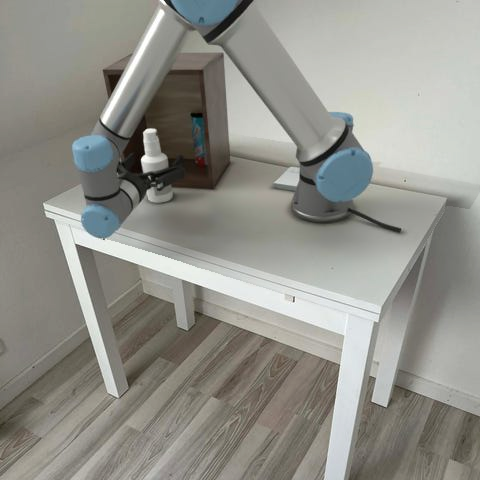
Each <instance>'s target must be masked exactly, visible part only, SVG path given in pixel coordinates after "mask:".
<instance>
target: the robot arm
mask: <svg viewBox="0 0 480 480" xmlns="http://www.w3.org/2000/svg"><path fill="white" fill-rule="evenodd" d="M157 2H158V5H157V7H156V9H155V11H154V13H153V14H152V17H151V18H150V21H149V22H148V24H147V27H146V28H145V29H144V32H143V34H142V36H141V38H140V40H139V42H137V45H136V47H135V49H134V51H133V52H132V53H133V55H132V57H131V59H130V61H129V62H128V64H127V66H126V68H125V70H124V72H123V74H122V76H121V78H120V80H119V82H118V83H117V85H116V87H115V89H114V91H113V93H112V95H111V97H110V99H108V101H107V102H106V105H105V106H104V108H103V111H102V112H101V114H100V117H98V118H99V119H98V120H97V122H96V124H95V125H94V128H92V130H91V131H90V133H89V135H85V136H81V137H79V138H78V139H76V140H74V141H73V143H72V145H71V150H72V154H73V162H74V166H75V167H76V170H77V173H78V179H79V182H80V185H81V189H82V193H83V195H84V196H83V197H84V202H85V205H86V207H84V208H83V211H82V212H81V215H80V223H81V226H82V228H83V229H84V230H85V232H86V233H88V234H89V235H90V236H91V237H94V238H97V239H108V238H111V236H112V235H114V234H115V233H116V232H117V231H118V230H119V229H120V228H121V226H122V225H123V223H124V222H125V221H126V220H127V218H128V217H129V216H130V215H131V214H132V212H133V211H134V210H135V209H136V208H137V207H138V205H139V204H140V203H142V201H143V200H144V199H145V197H146V196H147V190H149V189H151V188H152V187H154V188H157V191H161V190H163V189H164V188H165V187H167V186H169V185H171V184H173V183H175V182H177V181H179V180H181V179H183V178H185V170H184V167H183V166H184V163H183V155H179V157H178V158H177V159H176V160H175V161H174V162H173V164H172V167H169V168H166V169H163V170H160V171H157V172H152V171H150V172H147V173H143V174H142V173H140V174H136V173H134V174H133V173H130V172H129V171H128V170H129V169H130V168H131V167H132V166H133V165H134V164H135V158H134V153H131V154H130V155H129V156H128V157H127V158H126V159H124V160H123V161H121V154H122V152H123V151H124V149H125V147H126V145H127V144H128V142H129V140H130V138H131V136H132V134H133V133H134V131H135V129H136V128H137V126H138V124H139V122H140V121H141V119H142V117H143V115H144V114H145V112H146V110H147V109H148V107H149V105H150V103H151V102H152V100H153V98H154V96H155V95H156V93H157V91H158V90H159V88H160V86H161V84H162V83H163V81H164V79H165V77H166V76H167V74H168V72H169V71H170V69H171V67H172V65H173V64H174V62H175V60H176V59H177V57H178V55H179V53H182V50H183V48H184V46H185V44H186V43H187V42H188V39H189V38H190V36H191V34H192V33H193V32H194V31H196V32H197V33H198V34H199V36H200V37H202V39H203V40H204V41H205V43H206V44H207V45H210V46H218V47H221V49H222V50H223V51H224V53H225V54H226V56H227V57H228V59H230V61H231V62H232V64H233V65H234V66H235V67H236V69H237V70H238V71H239V73H240V74H241V76H242V77H243V78H244V79H245V81H246V82H247V83H248V84H249V86H250V87H251V89H252V90H253V91H254V93H255V94H256V95H257V96H258V98H259V99H260V100H261V101H262V103H263V104H264V106H265V107H266V108H267V109H268V110H269V112H270V113H271V114H272V116H273V117H274V118H275V120H276V121H277V122H278V124H279V125H280V126H281V127H282V129H283V130H284V131H285V133H286V134H287V135H288V137H289V138H290V140H291V141H292V142H293V144H294V145H295V146H296V151H295V159H296V160H297V161H298V163H299V168H300V174H299V182H298V185H297V187H296V190H295V191H294V193H293V196H292V199H291V201H290V210H291V212H292V214H293V215H294V216H295V217H296V218H298V219H300V220H303V221H306V222H310V223H318V224H328V223H334V222H335V223H336V222H340V221H342V220H344V219H346V218H348V217H349V216H350V215H351V214H353V215H356V216H358V217H360V218H361V219H362V218H363V219H364V220H366V221H369V222H370V223H372V224H374V225H376V226H379V227H382V228H385V229H387V230H391V231H395V232H399V233H400V232H402V228H401V227H399V226H394V225H390V224H386V223H385V222H384V223H383V222H382V221H380V220H379V221H378V220H376V219H374V218H372V217H370V216H368V215H366V214H364V213H362V212H360V211H358V210H355V209H354V208H353V207H354V201H353V200H354V199H356V198H357V197H359V196H360V195H362V194H363V193H364V191H366V189H367V188H368V187H369V185H370V183H371V180H372V179H373V175H374V164H373V162H372V157H371V155H370V154H369V153H368V151H366V150H365V149H364V148H363V146H362V144H361V143H360V142H359V140H358V138H357V137H356V136H355V135H354V132H353V131H354V130H353V129H354V126H355V123H354V116H353V115H352V114H350V113H347V112H342V111H328V110H327V107H325V106H326V105H324V104H323V102H322V101H321V99H320V98H319V96H318V95H317V93H316V92H315V90H314V89H313V87H312V86H311V85H310V83H309V82H308V80H307V79H306V77H305V76H304V74H303V72H302V71H301V69H300V68H299V67H298V65H297V64H296V62H295V61H294V60H293V58H292V57H291V55H290V54H289V52H288V51H287V50H286V48H285V46H284V45H283V43H282V42H281V41H280V40H279V38H278V35H276V33H275V32H274V31H273V29H272V27H271V26H270V25H269V23H268V22H267V20H266V18H265V17H264V16H263V14H262V13H261V12H260V10H259V0H157ZM148 176H150V178H151V180H150V178H149V177H148Z"/></svg>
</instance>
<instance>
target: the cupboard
mask: <svg viewBox="0 0 480 480" xmlns="http://www.w3.org/2000/svg"><path fill="white" fill-rule="evenodd" d="M133 53H134V52H131V53H130V54H128V55H126V56H125V57H122V58H121V59H119V60H118V61H115V62H113V63H112V64H110V65H108V66H106V67H104V68H102V69H101V70H102V75H103V78H104V83H105V88H106V92H107V98H108V100H109V99H110V97H111V95H112V93H113V91H114V89H115V87H116V85H117V83H118V82H119V80H120V78H121V76H122V74H123V72H124V70H125V68H126V66H127V64H128V62H129V61H130V59H131V57H132V55H133ZM224 53H225V52H180V53H179V55H178V57H177V59H176V60H175V62H174V64H173V65H172V67H171V69H170V71H169V72H168V74H167V76H166V77H165V79H164V81H163V83H162V84H161V86H160V88H159V90H158V91H157V93H156V95H155V96H154V98H153V100H152V102H151V103H150V105H149V107H148V109H147V110H146V112H145V114H144V115H143V117H142V119H141V121H140V122H139V124H138V126H137V128H136V129H135V131H134V133H133V134H132V136H131V138H130V140H129V142H128V144H127V145H126V147H125V149H124V151H123V152H122V154H121V157H120V162H121V161H123V160H124V159H126V158H127V157H128V156H129V155H130V154H131V153H134V158H135V164H134V165H133V166H132V167H131V168H130V169H129V170H128V171H129V172H130V173H133V174H134V173H136V174H140V173H142V174H143V168H142V163H141V158H142V157H143V156H144V155H146V154H145V146H144V141H143V140H144V135H143V132H144V131H145V130H146V129H156V130H157V136H158V138H159V144H160V148H161V153H163V154H165V155H166V156H167V158H168V165H169V167H172V164H173V162H174V161H175V160H176V159H177V158H178V157H179V155H183V163H184V166H183V167H184V170H185V178H183V179H181V180H179V181H177V182H175V183H173V184H171V186H172V188H179V189H183V188H184V189H199V190H215V188H216V187H217V185H218V183H219V182H220V181H221V178H222V177H223V176H224V174H225V172H226V171H227V169H228V168H229V166H230V165H231V151H230V150H231V149H230V148H231V147H230V135H229V118H228V104H227V103H228V102H227V101H228V100H227V86H226V70H225V56H224V55H225V54H224ZM191 113H203V123H204V134H205V145H206V155H207V165H200V164H197V163H196V161H195V152H194V143H193V134H192V124H191V115H190V114H191Z"/></svg>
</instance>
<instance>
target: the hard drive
mask: <svg viewBox="0 0 480 480" xmlns="http://www.w3.org/2000/svg"><path fill="white" fill-rule="evenodd" d="M299 174H300V167H299V166H298V167H297V166H289V167H288V168H287V169H286V170H285V171H284V172H282V174H281V175H280V176H278V178H277V179H276V180H274V182H273V183H272V185H273V186H272V187H273V189H276V190H284V191H288V192H289V191H291V192H295V190H296V187H297V185H298V182H299Z"/></svg>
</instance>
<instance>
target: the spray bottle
mask: <svg viewBox="0 0 480 480" xmlns="http://www.w3.org/2000/svg"><path fill="white" fill-rule="evenodd" d="M143 135H144V140H143V141H144V146H145V154H146V155H144V156H143V157H142V158H141V163H142V168H143V173H147V172H150V171H152V172H157V171H160V170H163V169H166V168H169V165H168V158H167V156H166V155H165V154H163V153H161V148H160V144H159V138H158V136H157V130H156V129H146V130H145V131H144V132H143ZM148 177H149V178H150V176H148ZM150 180H151V178H150ZM173 195H174V194H173V187H172V186H171V185H169V186H167V187H165V188H164V189H163V190H161V191H157V188H154V187H152V188H151V189H149V190H147V192H146V196H147V199H148V201H149V202H151V203H155V204H161V203H165V202H168V201H170V200H171V199H173Z"/></svg>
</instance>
